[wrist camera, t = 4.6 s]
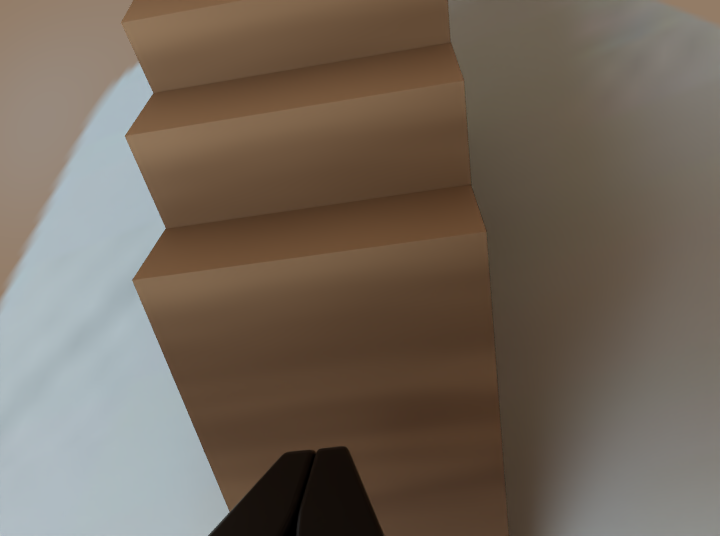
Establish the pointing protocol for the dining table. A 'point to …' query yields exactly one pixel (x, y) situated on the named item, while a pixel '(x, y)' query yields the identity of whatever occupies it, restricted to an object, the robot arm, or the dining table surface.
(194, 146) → the domino
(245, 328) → the domino
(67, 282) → the dining table surface
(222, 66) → the domino
